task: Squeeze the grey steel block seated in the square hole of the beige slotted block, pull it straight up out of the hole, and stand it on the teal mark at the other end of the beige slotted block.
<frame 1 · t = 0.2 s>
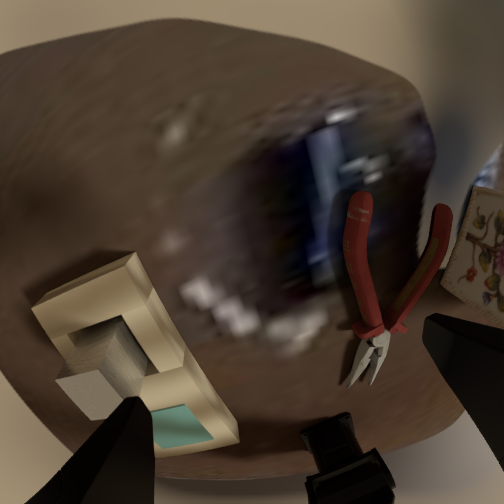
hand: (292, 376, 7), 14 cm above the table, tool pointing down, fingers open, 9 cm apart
beige slotted block: (148, 374, 24), on the table
pliers: (369, 289, 25), on the table
steel block: (120, 333, 22), resting in beige slotted block
decorative jar: (480, 247, 25), on the table
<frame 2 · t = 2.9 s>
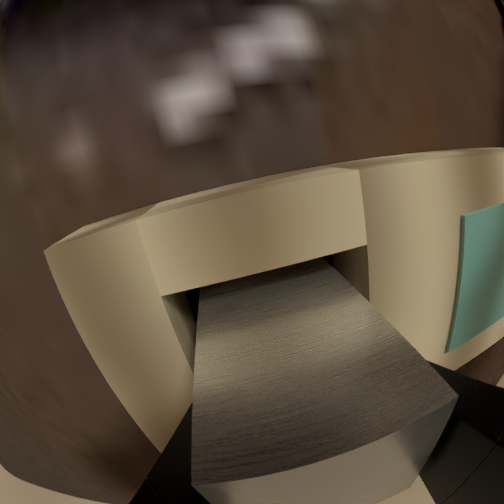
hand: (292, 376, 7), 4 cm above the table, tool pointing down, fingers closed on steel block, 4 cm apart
beige slotted block: (379, 276, 11), on the table
steel block: (267, 308, 11), resting in beige slotted block, touching gripper
when the fingers open (8 cm above the table, at t = 6.4 s): steel block drops 1 cm, resting on beige slotted block.
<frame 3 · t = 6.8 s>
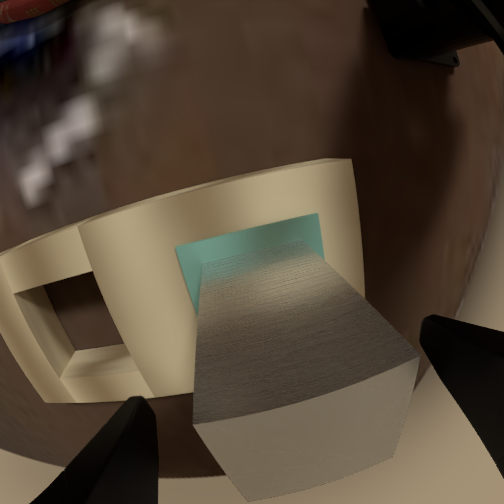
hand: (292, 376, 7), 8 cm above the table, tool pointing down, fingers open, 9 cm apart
beige slotted block: (164, 290, 15), on the table
steel block: (262, 295, 12), point 3 cm above the table, touching beige slotted block
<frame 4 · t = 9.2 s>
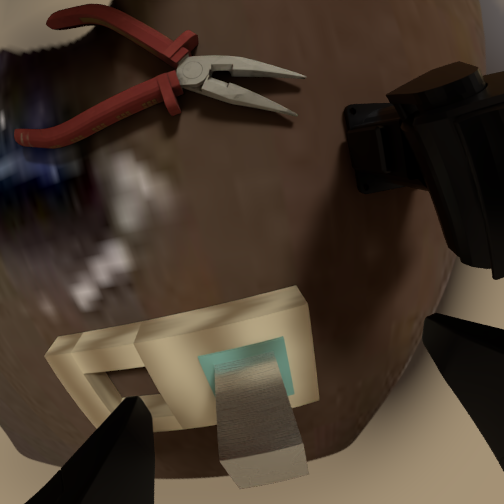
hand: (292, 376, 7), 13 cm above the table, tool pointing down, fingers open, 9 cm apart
beige slotted block: (187, 365, 22), on the table
pliers: (132, 93, 16), on the table
steel block: (250, 378, 19), point 3 cm above the table, touching beige slotted block
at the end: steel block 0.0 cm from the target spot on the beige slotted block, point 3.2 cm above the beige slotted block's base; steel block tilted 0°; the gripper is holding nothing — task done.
